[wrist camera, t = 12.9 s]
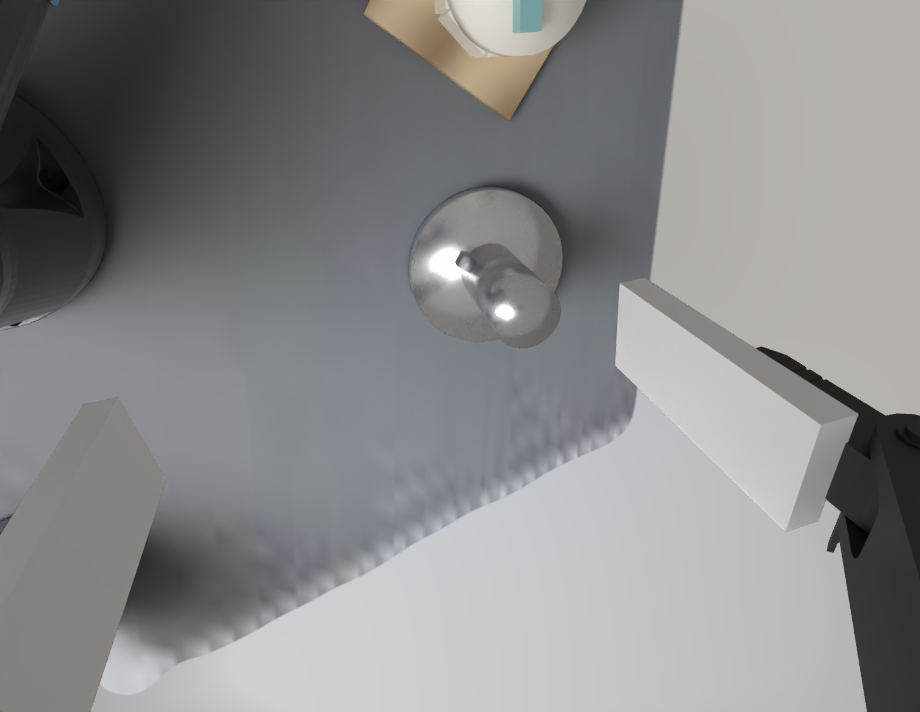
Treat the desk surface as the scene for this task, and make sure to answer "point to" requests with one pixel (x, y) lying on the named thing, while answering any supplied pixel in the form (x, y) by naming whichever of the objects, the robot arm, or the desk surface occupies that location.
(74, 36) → the desk surface
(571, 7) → the cap
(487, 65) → the coaster
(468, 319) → the bayonet post
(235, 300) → the desk surface
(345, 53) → the desk surface
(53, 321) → the desk surface
